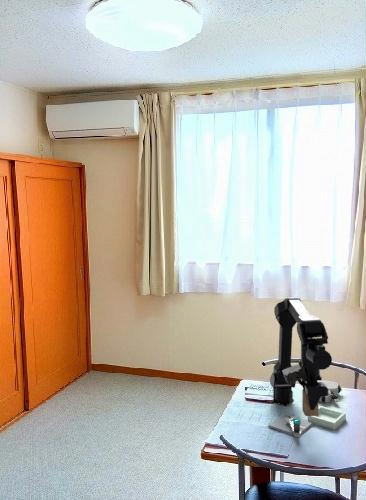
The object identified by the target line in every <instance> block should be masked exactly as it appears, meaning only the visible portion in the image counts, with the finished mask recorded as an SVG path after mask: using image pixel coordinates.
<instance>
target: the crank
mask: <svg viewBox="0 0 366 500" xmlns="http://www.w3.org/2000/svg"><path fill="white" fill-rule="evenodd" d="M295 417H296V416H292V415H290V416H287V417H285V423H286V424H287V425H289V426H290V428H291V430H292V432H293V434H294V436H293V437H294V438H301V437H302V434H301V432H300V423H301V420H300V419H301V418H300V419H296V418H295Z"/></svg>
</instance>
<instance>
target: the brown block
mask: <svg viewBox="0 0 366 500" xmlns="http://www.w3.org/2000/svg"><path fill="white" fill-rule="evenodd" d="M301 391H302V394H301V395H302V398H301V399H302V409H301V410H302V413H303V414H304V416H305V417H308V416H318V407H319V402H318V403H317V405H316V407H315V409H314V410H310V406H309V400H308V396H307V394H306V393H305V392H304V390H303V388H302V390H301Z"/></svg>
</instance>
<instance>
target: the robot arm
mask: <svg viewBox="0 0 366 500" xmlns="http://www.w3.org/2000/svg"><path fill="white" fill-rule="evenodd" d="M273 310H274V316H275V320H276V321H277V322H278V324H279V334H278V335H279V336H278V337H279V338H278V360H277V362H276V363H275V364H274V366H273V370H272V371H273V372H272V373H271V375H270V377H269V383H270V386H271V387H272V389H273V390H272V393H273V394H272V395H273V397H272V399H271V401H270V402H271V403H273V404H277V405H281V406H284V407H287V406H288V405H290V404H291V403H293V402H294V401H295V400H294V398H293V397H294V392H293V390H292V388H296V383H297V382H298V384H299V385H300V386H301V387H302V389H303V390H304V392H305V393H306V394H307V396H308V400H309V406H310V410H314V409H315V407H316V405H317V403H318V404H319V402H320V401H319V400H320V398H321V396H328V391H329V389H328V388H327V387H326V385H325V384H324V383H323V382H317V380H323V379H322V378H323V377H322V376H321V370H322V371H323V370H327V369H328V368H329V367H330V366H331V364H332V361H333V358H332V356H331V354H330V352H329V351H327V350H326V346H325V345H328V344H329V342H328V340H329V336H328V333H327V331H326V330H327V329H326V327H325V324H324V322H322V320H321V319H320V317H318V316H317V315H316V316H315V315H312V314H310V313H309V311H308V310H307V308H306V307H305V306H304V304H303V303H302V300H301V298H300V297H297V296H295V297H287V298H284V300H282V301H279V302H277V304H276V305H275V306H274V309H273ZM295 325H296V331H297V335H298V338H299V341H300V359H299V360H298V364H296V365H292V347H293V345H292V344H293V328H294V327H295Z"/></svg>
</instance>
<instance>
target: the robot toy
mask: <svg viewBox="0 0 366 500" xmlns="http://www.w3.org/2000/svg"><path fill="white" fill-rule="evenodd" d="M317 382H323V383H324V384H325V385H326V387H327V388H328V389H329V391H328V396H321V398H320V400H319V401H318V402H320V403H329V402H330V401H331V400H332V401H333V403H339V402H340V400H339V397H338V394H340V393H341V392H342V391H343V388H342V387H343V382H341V386H340V384H339V383H338V382H335V381H332V380H325V379H322V380H317Z"/></svg>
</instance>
